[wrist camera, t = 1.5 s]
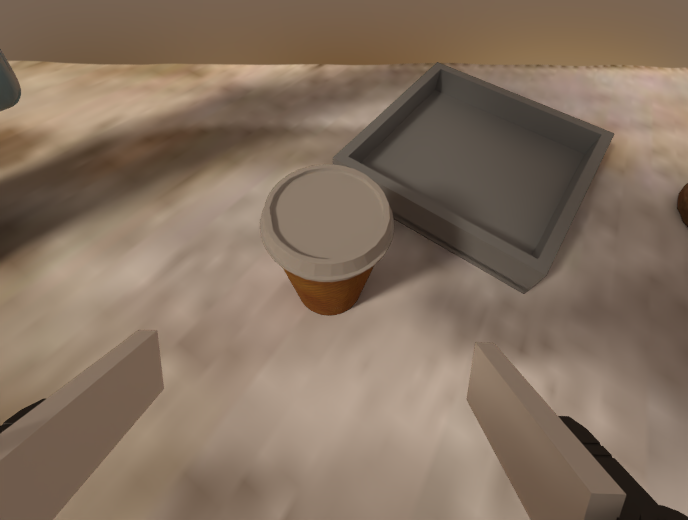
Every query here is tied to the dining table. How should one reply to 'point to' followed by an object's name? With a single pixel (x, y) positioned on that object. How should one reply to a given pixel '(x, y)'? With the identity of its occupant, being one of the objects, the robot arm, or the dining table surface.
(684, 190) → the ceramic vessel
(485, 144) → the grey tray
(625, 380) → the dining table surface
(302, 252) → the disposable coffee cup
